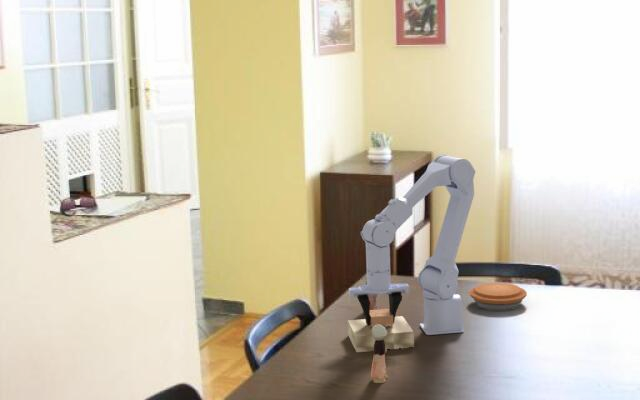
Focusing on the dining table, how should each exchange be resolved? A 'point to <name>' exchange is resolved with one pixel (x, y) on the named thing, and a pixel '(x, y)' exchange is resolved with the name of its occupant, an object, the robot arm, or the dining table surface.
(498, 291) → the pie
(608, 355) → the dining table surface
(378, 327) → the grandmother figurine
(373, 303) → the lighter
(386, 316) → the orange brown block
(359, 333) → the holder
